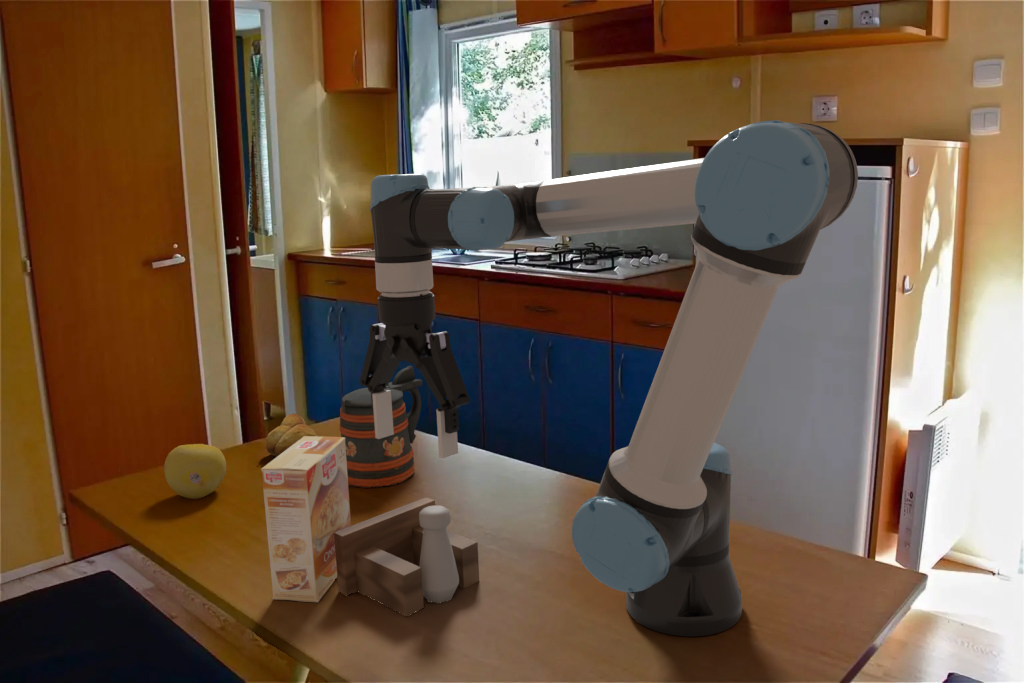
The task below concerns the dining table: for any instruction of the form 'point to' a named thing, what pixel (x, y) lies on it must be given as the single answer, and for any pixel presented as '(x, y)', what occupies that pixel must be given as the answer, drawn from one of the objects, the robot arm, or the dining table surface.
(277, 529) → the coffeecake box
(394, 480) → the beer stein
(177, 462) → the fruit
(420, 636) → the dining table surface
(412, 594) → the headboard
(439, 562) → the salt shaker
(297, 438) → the bread roll
